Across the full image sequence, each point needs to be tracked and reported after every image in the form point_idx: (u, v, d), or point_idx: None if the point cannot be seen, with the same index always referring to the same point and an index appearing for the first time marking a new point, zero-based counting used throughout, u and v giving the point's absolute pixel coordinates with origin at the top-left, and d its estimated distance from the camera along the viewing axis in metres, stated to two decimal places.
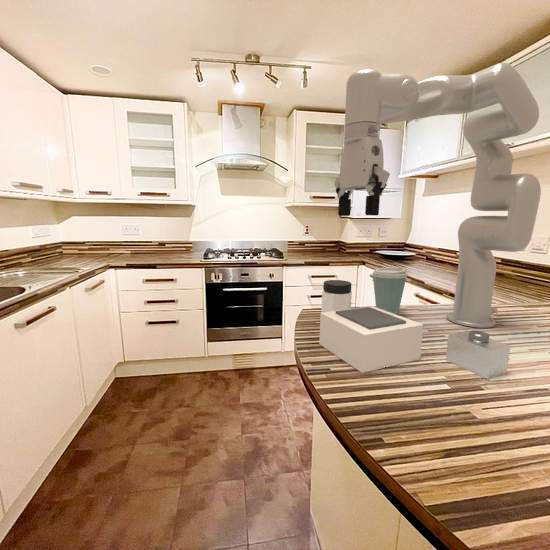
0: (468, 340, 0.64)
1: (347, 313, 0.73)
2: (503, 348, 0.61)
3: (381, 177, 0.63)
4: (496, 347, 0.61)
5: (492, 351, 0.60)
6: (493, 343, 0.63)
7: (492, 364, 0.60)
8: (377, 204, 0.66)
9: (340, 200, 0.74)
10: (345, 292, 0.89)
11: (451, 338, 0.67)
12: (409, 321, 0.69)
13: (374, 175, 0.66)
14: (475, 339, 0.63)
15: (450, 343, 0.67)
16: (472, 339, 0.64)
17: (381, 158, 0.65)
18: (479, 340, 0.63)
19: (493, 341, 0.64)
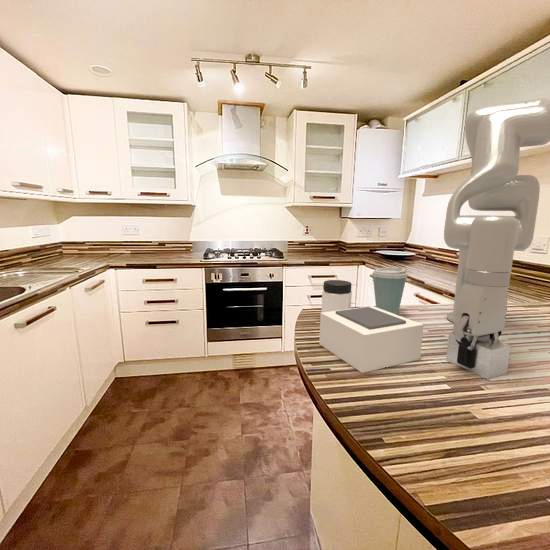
0: (468, 340, 0.64)
1: (347, 313, 0.73)
2: (504, 348, 0.61)
3: None
4: (497, 347, 0.61)
5: (492, 351, 0.59)
6: (493, 342, 0.63)
7: (492, 363, 0.60)
8: None
9: (474, 352, 0.62)
10: (345, 292, 0.89)
11: (451, 337, 0.67)
12: (409, 321, 0.69)
13: None
14: None
15: (451, 343, 0.67)
16: None
17: None
18: (479, 340, 0.63)
19: (493, 341, 0.64)
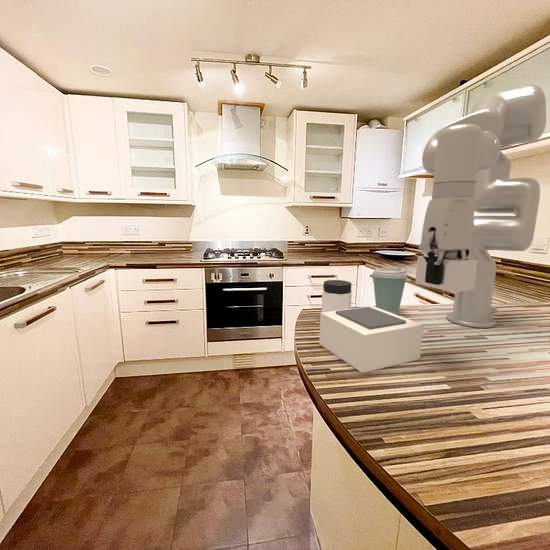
0: None
1: (347, 313, 0.73)
2: (470, 261, 0.60)
3: (470, 246, 0.66)
4: (463, 260, 0.60)
5: (458, 262, 0.59)
6: (460, 259, 0.62)
7: (459, 276, 0.60)
8: None
9: (441, 267, 0.62)
10: (345, 292, 0.89)
11: (420, 259, 0.66)
12: (409, 321, 0.69)
13: None
14: (443, 255, 0.63)
15: (420, 264, 0.66)
16: None
17: None
18: (447, 256, 0.62)
19: (461, 258, 0.63)
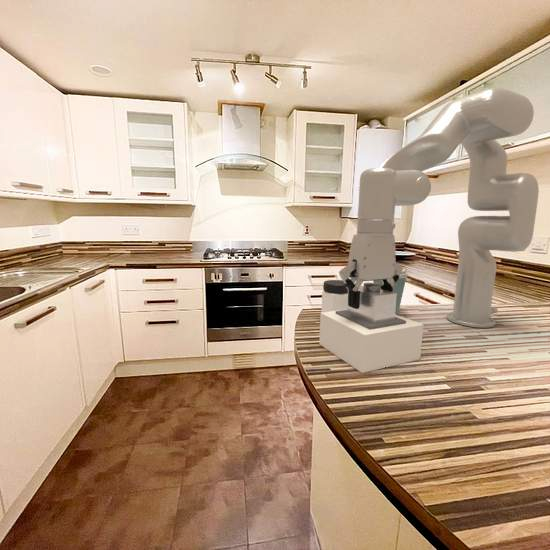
0: (362, 290, 0.70)
1: (347, 313, 0.73)
2: (389, 295, 0.67)
3: (398, 271, 0.72)
4: (382, 294, 0.66)
5: (376, 297, 0.65)
6: (382, 292, 0.69)
7: (377, 309, 0.66)
8: None
9: (359, 293, 0.67)
10: (345, 292, 0.89)
11: None
12: (409, 321, 0.69)
13: None
14: (367, 289, 0.69)
15: None
16: (365, 289, 0.69)
17: None
18: (370, 289, 0.68)
19: (384, 291, 0.69)
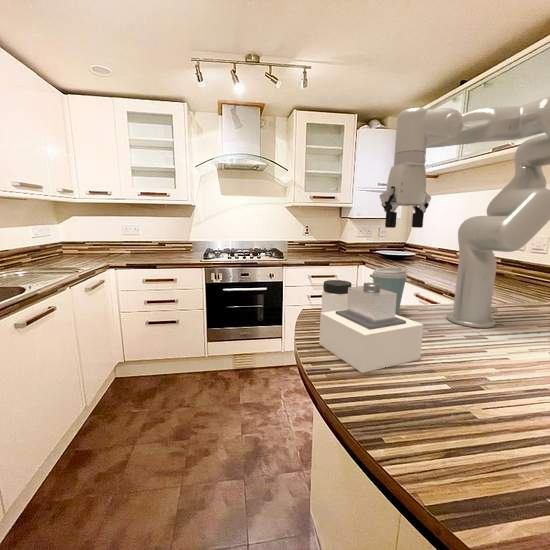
0: (362, 290, 0.70)
1: (347, 313, 0.73)
2: (389, 295, 0.67)
3: (428, 199, 0.86)
4: (382, 294, 0.66)
5: (376, 297, 0.65)
6: (382, 292, 0.69)
7: (377, 309, 0.66)
8: None
9: (396, 213, 0.81)
10: (345, 292, 0.89)
11: (350, 290, 0.72)
12: (409, 321, 0.69)
13: None
14: (367, 289, 0.69)
15: (349, 295, 0.73)
16: (365, 289, 0.69)
17: None
18: (370, 289, 0.68)
19: (384, 291, 0.69)
